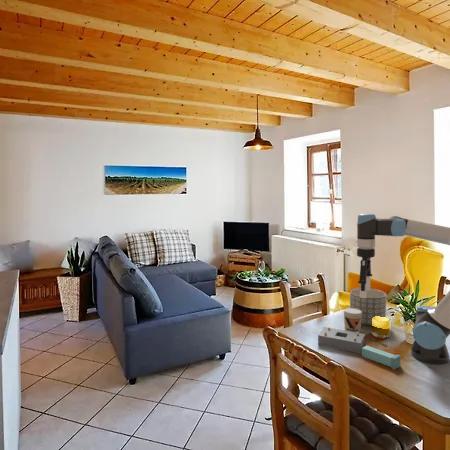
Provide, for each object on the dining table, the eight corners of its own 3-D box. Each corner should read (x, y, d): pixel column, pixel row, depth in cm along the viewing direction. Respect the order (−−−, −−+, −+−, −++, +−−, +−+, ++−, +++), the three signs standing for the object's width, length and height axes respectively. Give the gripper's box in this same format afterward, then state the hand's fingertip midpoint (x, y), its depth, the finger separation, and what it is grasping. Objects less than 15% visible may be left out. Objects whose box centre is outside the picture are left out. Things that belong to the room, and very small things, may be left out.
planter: (346, 317, 214) (347, 287, 212) (379, 318, 211) (380, 288, 209) (353, 329, 195) (354, 297, 193) (389, 330, 192) (391, 298, 191)
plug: (367, 354, 166) (400, 366, 154) (361, 357, 163) (394, 369, 151) (367, 344, 166) (400, 355, 154) (361, 347, 163) (394, 358, 151)
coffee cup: (342, 334, 188) (343, 312, 187) (343, 328, 197) (344, 307, 196) (361, 337, 185) (362, 314, 184) (361, 330, 193) (362, 309, 192)
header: (364, 343, 177) (364, 331, 176) (360, 353, 166) (360, 340, 166) (324, 336, 186) (324, 324, 186) (318, 344, 176) (318, 332, 176)
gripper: (361, 243, 173) (360, 286, 175) (352, 251, 151) (351, 300, 153) (377, 244, 170) (376, 287, 172) (371, 252, 148) (370, 302, 150)
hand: (365, 293), depth 163 cm, fingers open, 13 cm apart
